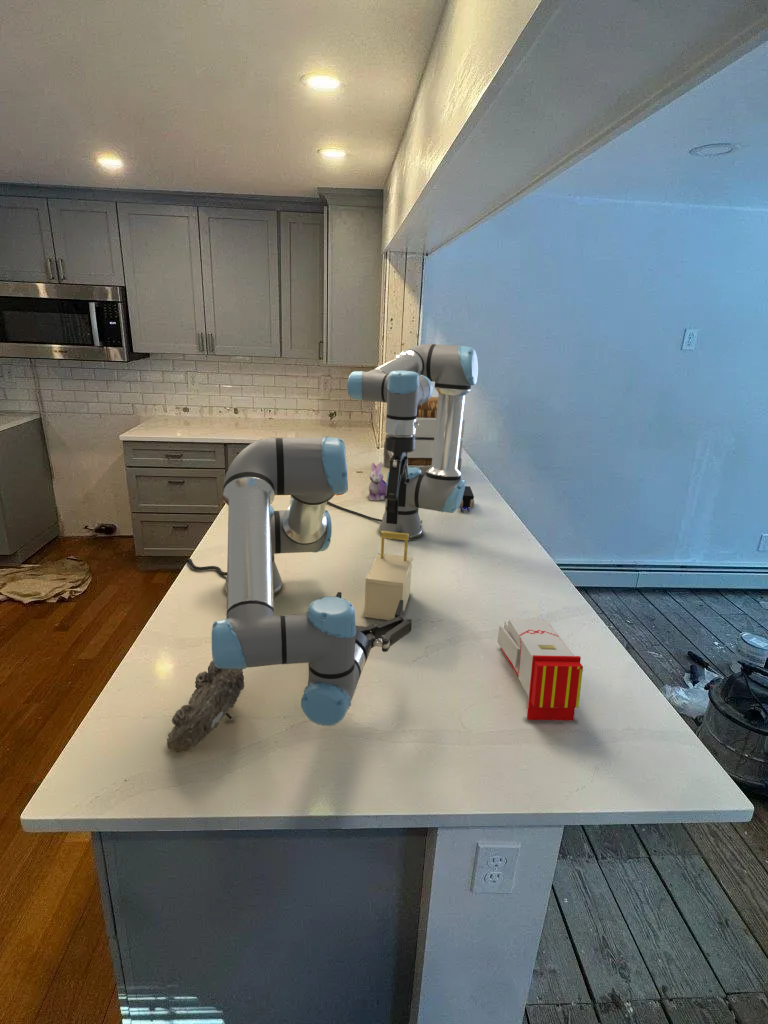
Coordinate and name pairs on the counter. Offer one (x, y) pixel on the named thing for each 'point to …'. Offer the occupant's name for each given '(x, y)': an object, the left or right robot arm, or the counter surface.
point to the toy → (542, 668)
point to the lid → (390, 563)
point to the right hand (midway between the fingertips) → (396, 514)
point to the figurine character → (467, 499)
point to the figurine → (377, 483)
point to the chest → (385, 598)
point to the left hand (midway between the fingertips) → (370, 601)
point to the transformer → (424, 437)
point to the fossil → (205, 707)
